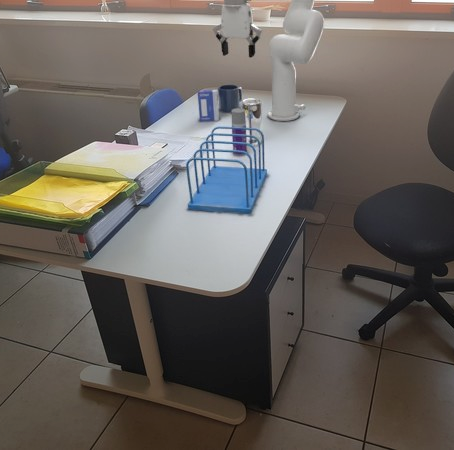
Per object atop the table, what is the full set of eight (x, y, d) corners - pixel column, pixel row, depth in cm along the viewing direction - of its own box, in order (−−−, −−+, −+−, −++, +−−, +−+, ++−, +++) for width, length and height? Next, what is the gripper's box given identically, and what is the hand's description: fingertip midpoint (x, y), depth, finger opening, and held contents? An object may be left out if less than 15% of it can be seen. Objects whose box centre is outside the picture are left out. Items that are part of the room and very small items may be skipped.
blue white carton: (199, 121, 187) (197, 91, 181) (199, 119, 189) (197, 89, 183) (219, 120, 188) (217, 90, 182) (219, 118, 190) (217, 88, 184)
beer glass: (265, 140, 169) (264, 99, 161) (258, 147, 163) (257, 105, 155) (247, 138, 171) (245, 97, 163) (240, 144, 165) (238, 103, 157)
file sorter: (213, 171, 146) (209, 124, 138) (267, 175, 144) (267, 127, 136) (187, 210, 125) (182, 157, 117) (250, 215, 123) (249, 161, 115)
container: (245, 156, 156) (243, 113, 148) (231, 155, 157) (229, 112, 149) (248, 151, 160) (247, 108, 152) (235, 150, 161) (233, 107, 153)
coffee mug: (229, 113, 195) (228, 91, 190) (215, 109, 200) (213, 87, 195) (249, 107, 203) (248, 85, 198) (234, 103, 208) (233, 81, 203)
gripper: (265, -1, 149) (266, 54, 158) (216, -2, 154) (220, 51, 163) (256, 2, 143) (257, 60, 152) (206, 1, 148) (210, 56, 157)
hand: (238, 55), depth 158 cm, fingers open, 9 cm apart
